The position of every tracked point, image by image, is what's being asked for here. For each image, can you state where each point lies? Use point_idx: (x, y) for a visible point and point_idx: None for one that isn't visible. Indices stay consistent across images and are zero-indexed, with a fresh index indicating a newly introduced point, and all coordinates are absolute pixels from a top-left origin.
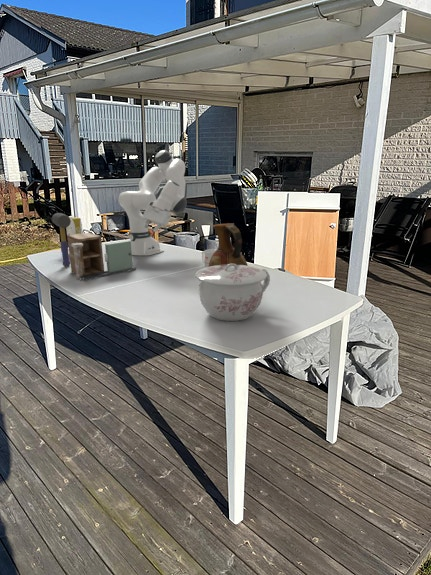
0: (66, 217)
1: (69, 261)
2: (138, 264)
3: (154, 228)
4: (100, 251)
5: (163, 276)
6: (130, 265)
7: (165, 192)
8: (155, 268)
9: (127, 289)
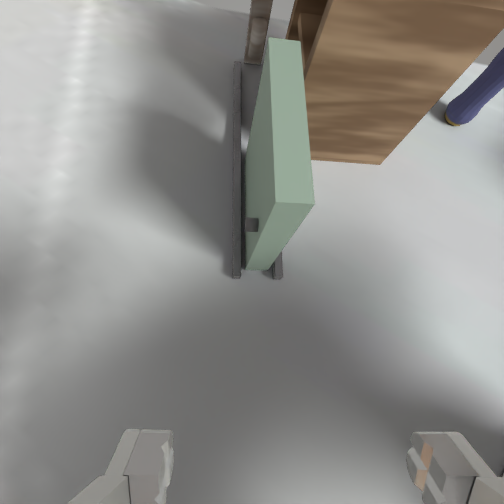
0: None
1: (465, 112)
2: (316, 348)
3: (139, 461)
4: (305, 68)
5: (11, 307)
6: (248, 251)
7: None
8: (177, 372)
9: (4, 96)
